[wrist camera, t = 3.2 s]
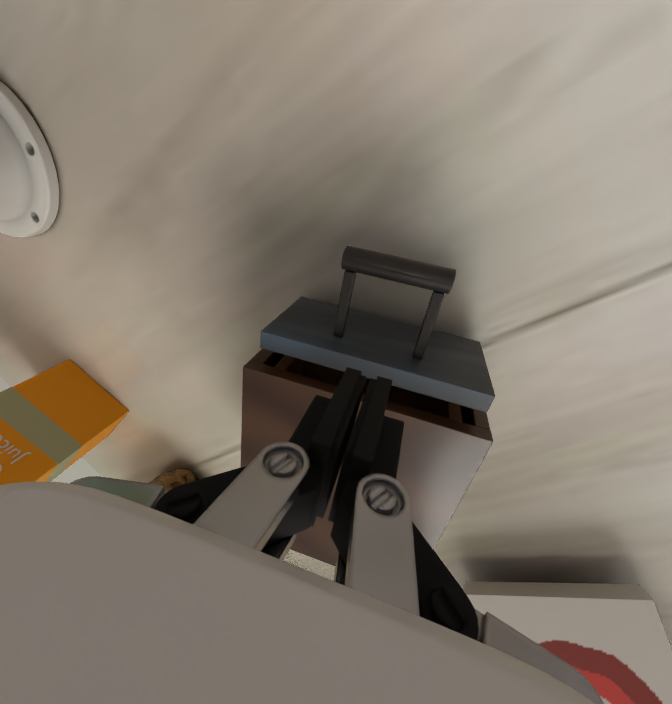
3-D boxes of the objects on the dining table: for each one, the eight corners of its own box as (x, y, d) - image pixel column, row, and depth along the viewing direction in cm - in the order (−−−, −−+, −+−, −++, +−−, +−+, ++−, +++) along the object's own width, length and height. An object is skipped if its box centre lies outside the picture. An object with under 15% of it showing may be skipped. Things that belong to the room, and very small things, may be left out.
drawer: (309, 222, 23) (265, 236, 17) (513, 266, 21) (544, 300, 15) (284, 441, 33) (252, 497, 27) (418, 485, 31) (414, 556, 25)
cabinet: (295, 315, 27) (242, 366, 20) (475, 363, 25) (493, 441, 18) (280, 456, 36) (239, 529, 28) (414, 501, 33) (409, 594, 26)
